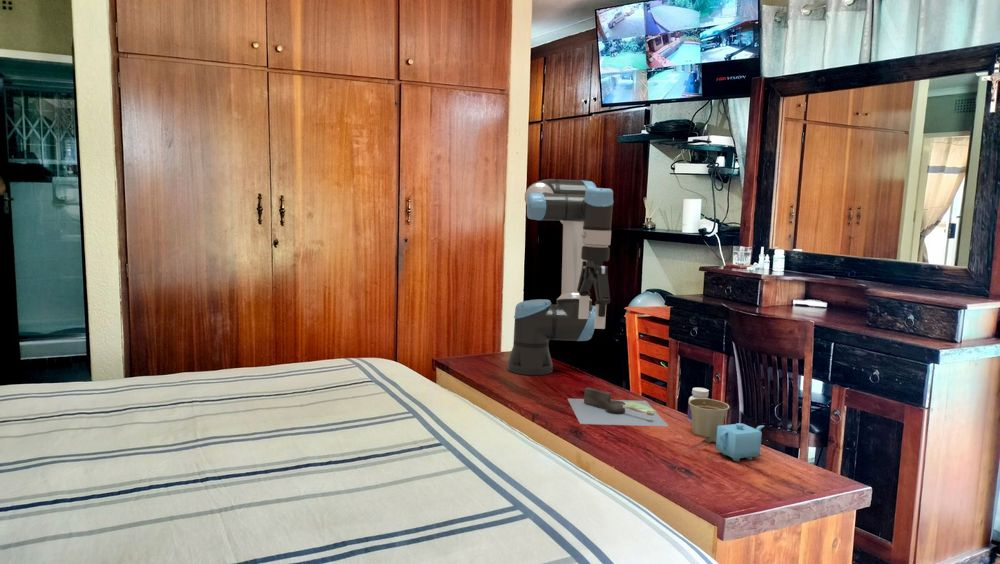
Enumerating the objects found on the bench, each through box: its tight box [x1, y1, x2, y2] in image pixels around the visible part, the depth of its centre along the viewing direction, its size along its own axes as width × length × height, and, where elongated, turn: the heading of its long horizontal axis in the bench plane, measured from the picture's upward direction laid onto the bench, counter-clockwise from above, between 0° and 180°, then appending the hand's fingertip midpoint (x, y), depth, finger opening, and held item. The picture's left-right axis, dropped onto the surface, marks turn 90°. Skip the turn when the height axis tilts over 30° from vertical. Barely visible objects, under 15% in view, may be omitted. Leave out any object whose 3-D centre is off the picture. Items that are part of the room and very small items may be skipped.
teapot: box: [715, 422, 765, 462], centre depth 152 cm, size 12×6×8 cm, turn 111°
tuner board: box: [567, 398, 670, 427], centre depth 177 cm, size 22×22×2 cm
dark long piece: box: [583, 387, 654, 416], centre depth 176 cm, size 21×5×4 cm, turn 48°
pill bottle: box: [686, 387, 710, 424], centre depth 171 cm, size 5×5×10 cm
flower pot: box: [688, 398, 730, 443], centre depth 163 cm, size 9×9×9 cm
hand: (591, 323), depth 185 cm, fingers open, 13 cm apart
